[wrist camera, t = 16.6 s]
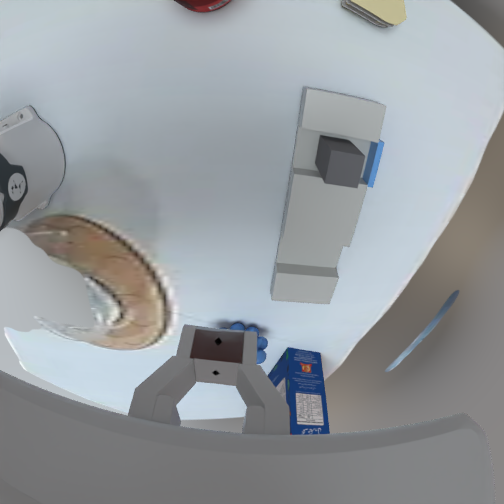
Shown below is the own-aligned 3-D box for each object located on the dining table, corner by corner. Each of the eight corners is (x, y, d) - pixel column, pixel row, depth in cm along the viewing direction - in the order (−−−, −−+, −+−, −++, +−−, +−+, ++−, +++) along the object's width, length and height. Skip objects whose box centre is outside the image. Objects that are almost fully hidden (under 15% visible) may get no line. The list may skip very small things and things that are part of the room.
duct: (270, 290, 53) (270, 304, 50) (303, 86, 33) (307, 88, 30) (329, 294, 53) (332, 308, 50) (381, 103, 33) (391, 107, 30)
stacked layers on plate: (323, 23, 28) (333, 17, 23) (331, -32, 22) (341, -45, 18) (395, 45, 28) (414, 44, 24) (402, -9, 23) (421, -16, 18)
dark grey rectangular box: (314, 163, 38) (324, 183, 32) (319, 134, 35) (331, 150, 30) (343, 167, 38) (357, 188, 32) (349, 140, 36) (365, 156, 30)
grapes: (207, 332, 60) (199, 381, 51) (211, 311, 56) (203, 362, 47) (262, 341, 61) (261, 390, 52) (270, 321, 58) (271, 373, 48)
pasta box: (276, 402, 80) (276, 489, 57) (250, 398, 79) (246, 488, 56) (320, 352, 64) (332, 469, 41) (287, 347, 63) (292, 470, 40)
